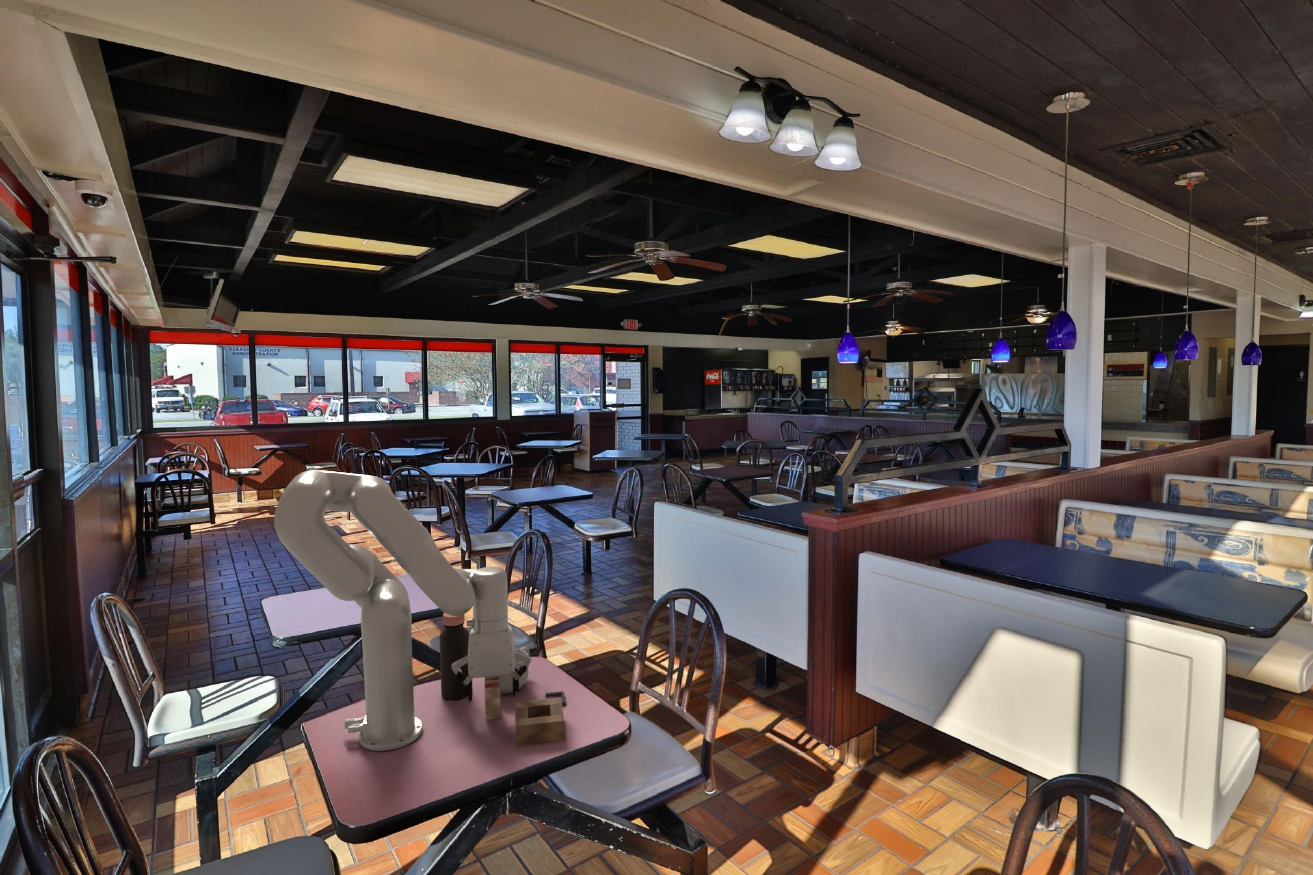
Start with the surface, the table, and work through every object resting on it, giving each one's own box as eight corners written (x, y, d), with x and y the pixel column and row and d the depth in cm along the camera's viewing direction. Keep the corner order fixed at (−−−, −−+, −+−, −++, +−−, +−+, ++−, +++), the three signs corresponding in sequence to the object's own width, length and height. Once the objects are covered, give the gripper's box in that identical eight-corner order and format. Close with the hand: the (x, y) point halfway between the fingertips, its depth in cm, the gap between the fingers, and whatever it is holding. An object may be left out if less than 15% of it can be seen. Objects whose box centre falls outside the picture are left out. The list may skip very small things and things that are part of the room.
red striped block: (485, 719, 147) (484, 680, 146) (486, 711, 150) (485, 674, 149) (500, 717, 148) (499, 679, 147) (500, 710, 151) (499, 672, 150)
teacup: (503, 703, 154) (502, 670, 153) (474, 689, 161) (473, 658, 160) (547, 681, 165) (546, 650, 164) (518, 669, 172) (517, 639, 171)
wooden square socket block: (516, 746, 136) (515, 725, 136) (515, 721, 146) (515, 702, 146) (564, 740, 139) (564, 720, 138) (561, 716, 148) (561, 697, 148)
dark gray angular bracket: (529, 709, 151) (529, 706, 151) (528, 697, 157) (528, 694, 157) (565, 705, 153) (565, 702, 153) (563, 693, 159) (563, 690, 159)
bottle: (454, 703, 154) (452, 620, 152) (435, 695, 158) (432, 614, 156) (476, 691, 160) (474, 611, 158) (457, 684, 163) (455, 606, 161)
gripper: (448, 633, 141) (451, 709, 143) (530, 626, 145) (532, 700, 147) (451, 620, 149) (454, 692, 150) (529, 614, 152) (531, 685, 154)
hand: (492, 696), depth 149 cm, fingers open, 9 cm apart
